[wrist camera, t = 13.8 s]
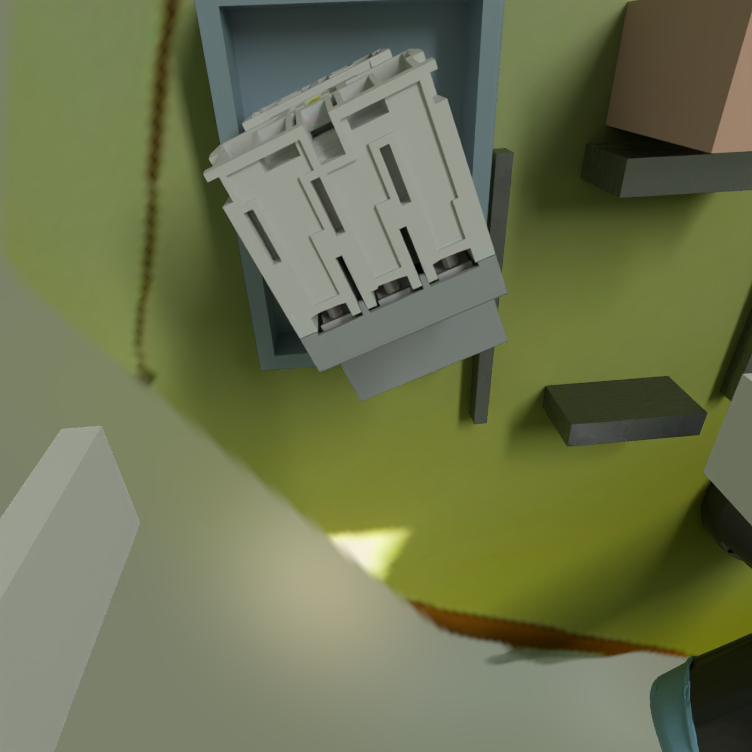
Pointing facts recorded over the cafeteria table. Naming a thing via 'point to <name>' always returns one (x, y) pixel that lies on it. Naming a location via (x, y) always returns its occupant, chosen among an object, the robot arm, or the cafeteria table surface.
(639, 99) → the beige rectangular block
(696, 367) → the cafeteria table surface
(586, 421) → the grey blocks
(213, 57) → the tray
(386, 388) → the circuit breaker
